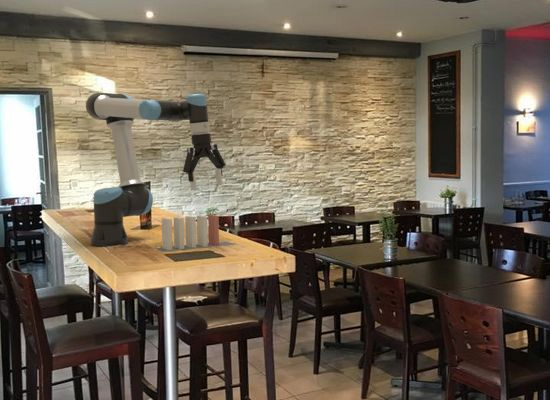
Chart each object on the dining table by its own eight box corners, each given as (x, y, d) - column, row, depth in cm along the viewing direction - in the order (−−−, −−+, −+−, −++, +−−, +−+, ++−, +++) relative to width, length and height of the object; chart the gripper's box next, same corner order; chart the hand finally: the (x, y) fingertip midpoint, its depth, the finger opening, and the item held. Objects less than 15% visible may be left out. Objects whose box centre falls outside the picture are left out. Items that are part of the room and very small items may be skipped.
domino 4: (203, 246, 245) (203, 216, 244) (197, 244, 250) (196, 215, 249) (207, 246, 246) (207, 216, 245) (201, 244, 251) (200, 215, 250)
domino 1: (168, 250, 237) (167, 219, 236) (162, 248, 242) (161, 217, 241) (172, 249, 238) (171, 219, 237) (166, 247, 243) (166, 217, 242)
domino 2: (180, 249, 240) (179, 218, 239) (174, 247, 245) (173, 217, 244) (184, 248, 241) (183, 218, 240) (178, 246, 246) (177, 216, 245)
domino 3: (192, 247, 242) (191, 217, 241) (185, 245, 248) (185, 216, 246) (196, 247, 243) (195, 217, 242) (190, 245, 248) (189, 215, 247)
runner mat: (153, 249, 242) (153, 248, 242) (225, 242, 259) (225, 241, 259) (162, 253, 234) (162, 251, 234) (236, 245, 251) (236, 244, 250)
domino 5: (214, 245, 248) (214, 216, 247) (208, 243, 253) (208, 214, 252) (218, 245, 249) (218, 215, 247) (212, 243, 254) (212, 214, 253)
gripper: (182, 135, 230) (189, 191, 233) (230, 130, 248) (236, 182, 251) (169, 137, 235) (176, 192, 238) (217, 131, 253) (223, 182, 256)
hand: (207, 187), depth 244 cm, fingers open, 13 cm apart
